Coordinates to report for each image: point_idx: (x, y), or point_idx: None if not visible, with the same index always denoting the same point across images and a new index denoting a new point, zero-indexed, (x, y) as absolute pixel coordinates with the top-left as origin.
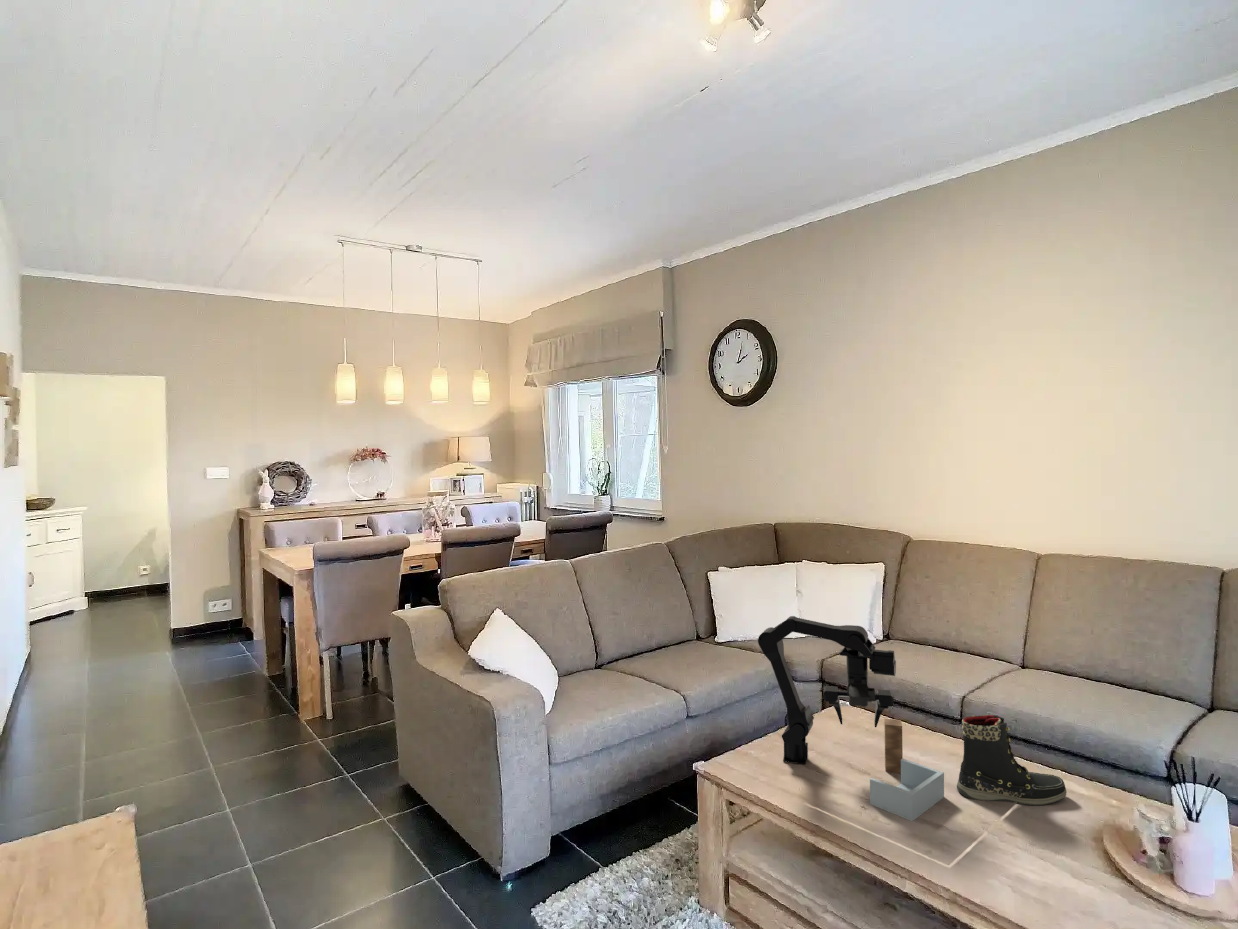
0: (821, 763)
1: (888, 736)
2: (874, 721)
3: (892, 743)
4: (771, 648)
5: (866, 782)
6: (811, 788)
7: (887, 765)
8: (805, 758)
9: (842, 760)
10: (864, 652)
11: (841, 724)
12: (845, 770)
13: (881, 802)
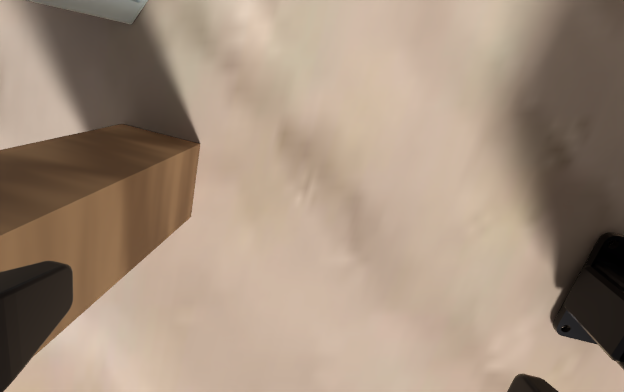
0: (501, 247)
1: (11, 207)
2: (24, 366)
3: (33, 178)
4: None
5: (324, 30)
6: None
7: (171, 149)
8: (602, 269)
9: (380, 276)
10: None
11: (530, 377)
12: (398, 172)
13: None
